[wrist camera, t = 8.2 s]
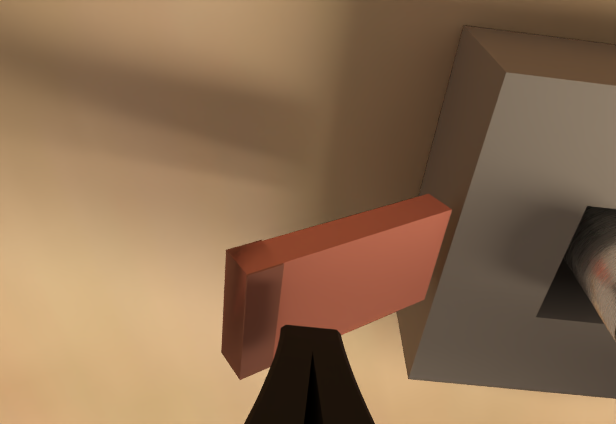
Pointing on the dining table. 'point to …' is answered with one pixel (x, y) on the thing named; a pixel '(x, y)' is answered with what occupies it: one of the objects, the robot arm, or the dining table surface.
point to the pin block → (517, 217)
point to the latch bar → (328, 277)
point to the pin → (596, 261)
